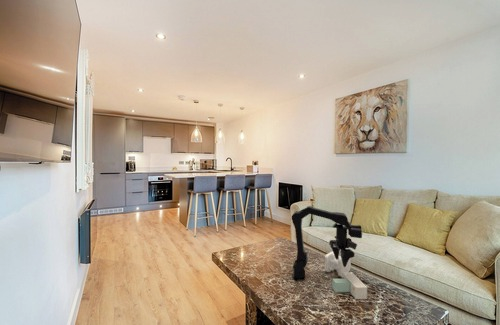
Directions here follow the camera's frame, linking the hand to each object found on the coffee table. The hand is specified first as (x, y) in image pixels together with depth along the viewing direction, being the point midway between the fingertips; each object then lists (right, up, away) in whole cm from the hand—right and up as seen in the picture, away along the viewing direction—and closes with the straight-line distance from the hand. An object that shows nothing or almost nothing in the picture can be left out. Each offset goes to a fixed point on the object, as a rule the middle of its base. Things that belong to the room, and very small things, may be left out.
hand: (340, 263), depth 131 cm
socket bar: (+5, -13, -5) cm, 15 cm away
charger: (-1, -12, -5) cm, 13 cm away
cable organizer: (+4, -13, +16) cm, 21 cm away
